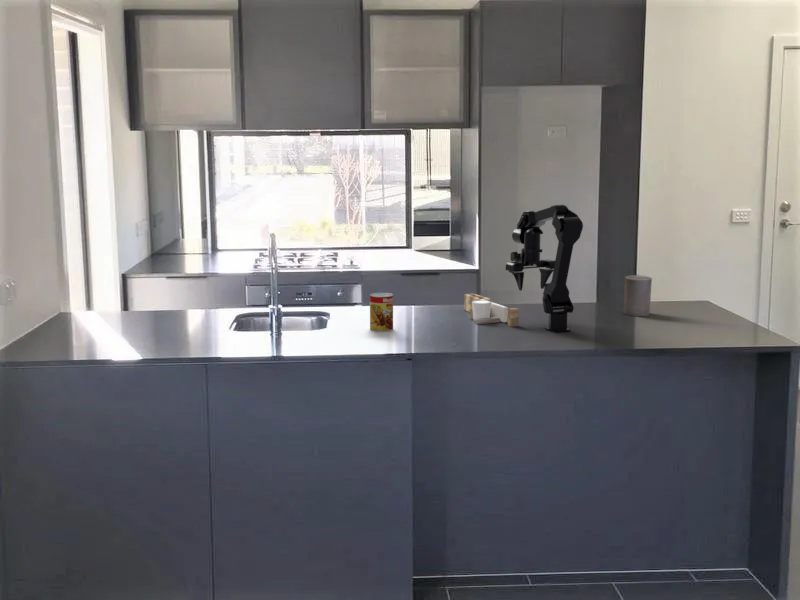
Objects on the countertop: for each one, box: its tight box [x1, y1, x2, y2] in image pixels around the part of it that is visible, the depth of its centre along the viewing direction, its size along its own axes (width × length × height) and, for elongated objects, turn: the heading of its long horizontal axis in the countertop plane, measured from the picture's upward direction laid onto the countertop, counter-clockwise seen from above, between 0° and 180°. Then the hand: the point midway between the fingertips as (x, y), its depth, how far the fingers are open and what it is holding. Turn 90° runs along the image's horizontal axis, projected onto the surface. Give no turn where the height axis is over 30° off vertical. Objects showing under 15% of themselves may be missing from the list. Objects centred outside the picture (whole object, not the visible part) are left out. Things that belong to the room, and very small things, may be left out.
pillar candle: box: [622, 273, 653, 317], centre depth 348 cm, size 10×10×15 cm
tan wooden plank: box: [463, 293, 520, 328], centre depth 340 cm, size 34×12×6 cm, turn 24°
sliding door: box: [469, 299, 509, 323], centre depth 339 cm, size 18×9×5 cm, turn 24°
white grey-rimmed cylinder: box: [472, 300, 492, 321], centre depth 336 cm, size 7×7×7 cm
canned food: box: [369, 292, 394, 332], centre depth 321 cm, size 8×8×12 cm
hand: (531, 289), depth 337 cm, fingers open, 9 cm apart
